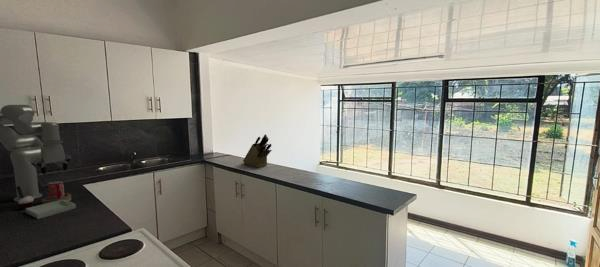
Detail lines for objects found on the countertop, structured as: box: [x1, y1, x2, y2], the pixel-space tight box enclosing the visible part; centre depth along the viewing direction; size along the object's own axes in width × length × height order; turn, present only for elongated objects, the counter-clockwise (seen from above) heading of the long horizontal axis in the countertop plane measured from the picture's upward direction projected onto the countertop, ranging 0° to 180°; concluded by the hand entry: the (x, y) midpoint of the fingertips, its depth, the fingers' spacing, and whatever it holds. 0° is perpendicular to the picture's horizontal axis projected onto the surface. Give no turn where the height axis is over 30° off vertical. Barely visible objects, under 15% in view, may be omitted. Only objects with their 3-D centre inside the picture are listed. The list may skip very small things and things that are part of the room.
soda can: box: [47, 180, 66, 200], centre depth 160 cm, size 7×7×12 cm
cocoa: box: [15, 186, 35, 210], centre depth 150 cm, size 10×6×12 cm, turn 56°
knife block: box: [242, 134, 272, 168], centre depth 256 cm, size 11×35×31 cm, turn 42°
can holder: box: [41, 193, 72, 205], centre depth 160 cm, size 12×12×3 cm
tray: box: [25, 200, 77, 220], centre depth 146 cm, size 16×16×2 cm
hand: (54, 171), depth 158 cm, fingers open, 9 cm apart
